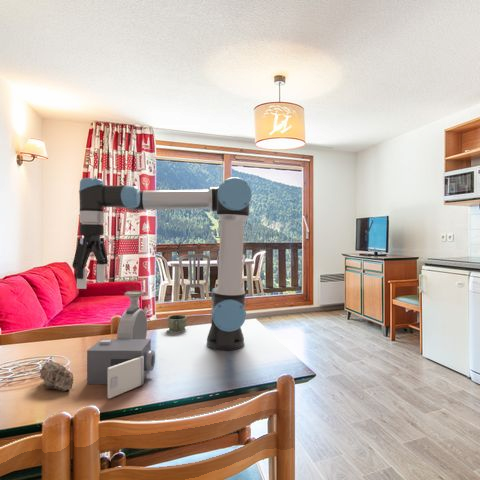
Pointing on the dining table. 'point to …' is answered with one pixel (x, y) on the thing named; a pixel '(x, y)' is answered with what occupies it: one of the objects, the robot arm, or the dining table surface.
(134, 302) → the candle holder
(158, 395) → the dining table surface
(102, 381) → the camera body
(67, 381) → the rock
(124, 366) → the door
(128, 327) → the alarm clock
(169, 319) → the vessel
